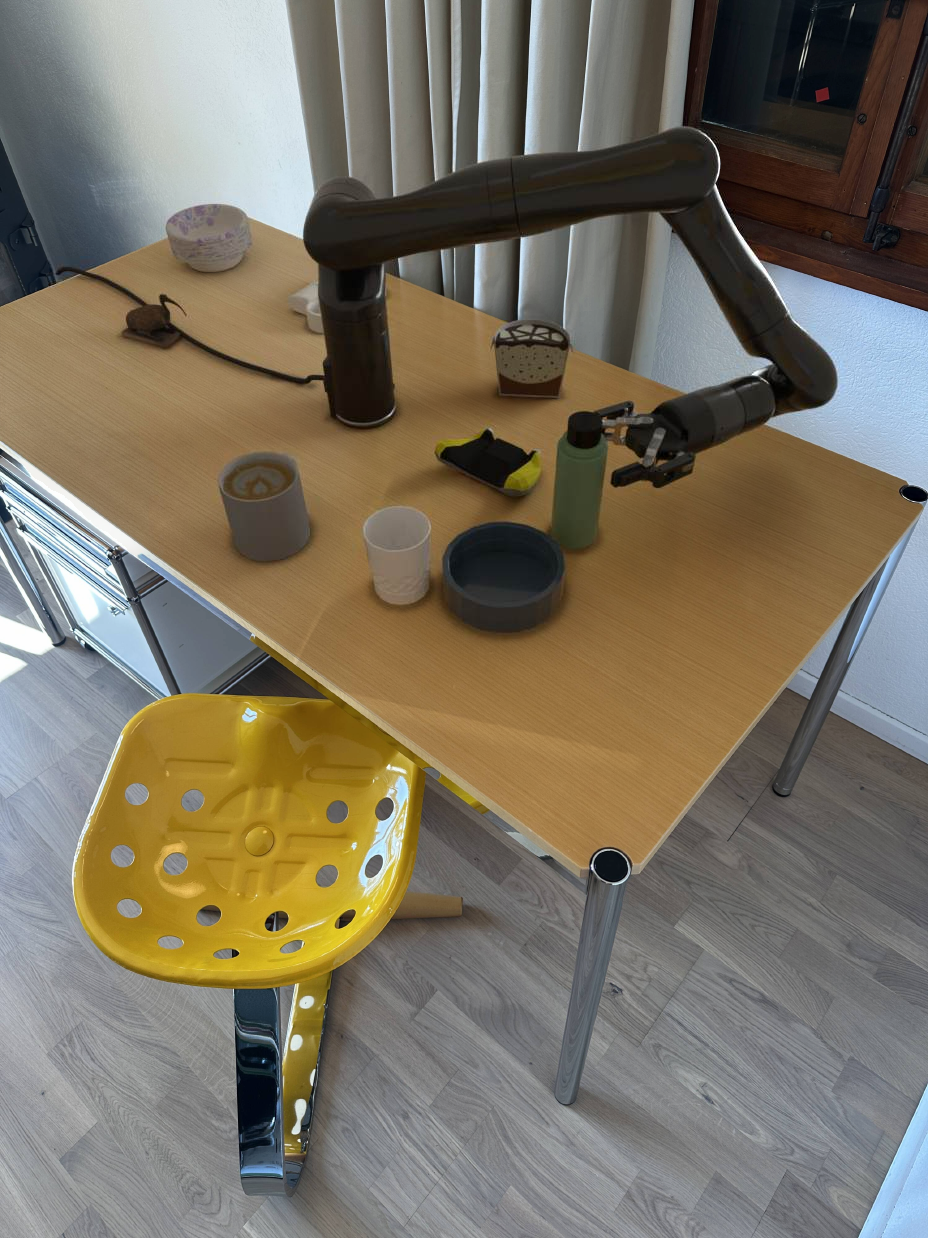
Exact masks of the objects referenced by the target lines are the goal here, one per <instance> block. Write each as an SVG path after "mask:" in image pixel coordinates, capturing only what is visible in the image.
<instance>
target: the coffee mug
mask: <svg viewBox="0 0 928 1238" xmlns="http://www.w3.org/2000/svg"><path fill="white" fill-rule="evenodd" d="M217 486H218V490H219V493H220V496H221V501H222V504H223V507H224V510H225V514H226V517H227V521H228V524H229V527H230V531H231V535H232V538H233V542H234V545H235V548H236V549H237V551H238V552H239V553H240V555H243V556H244V557H246V558H247V559H250V560H253V561H258V562H276V561H281V560H284V559H287V558H289V557H292V556H294V555H296V554H297V553H298V552H300V551H301V550H302V549H303V548H305V546H306V545H307V543H308V541H309V540H310V538H311V526H310V521H309V517H308V512H307V511H308V510H307V506H306V500H305V496H304V491H303V485H302V481H301V475H300V471H299V467H298V462H297V460H296V458H295V456H294V455H292V454H290V453H286V452H284V453H281V452H276V451H265V450H264V451H253V452H249V453H246V454H242V455H241V456H238V457H236V458H234V459H232V460H230V461H229V462H228V463H226V464H225V465H224V466H223V467H222V469H221V471H220V472H219V475H218V478H217Z"/></svg>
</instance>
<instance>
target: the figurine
mask: <svg viewBox="0 0 928 1238" xmlns="http://www.w3.org/2000/svg"><path fill="white" fill-rule="evenodd" d="M158 301H159V303H160V304H155V303H153V304H148V305H146V306H142V305H141V306H139V307H135V308H134V309H130V311H128V312H127V313H126V315H125V322H126V326H127V328H125V329H123V330H122V331H121V336H122V337H125V338H129V339H133V340H135V341H138V342H142V343H147V344H150V345H154V346H157V347H160V348H164V349H169V348H170V347H172V346H173V345H174V344H176V343H177V342H178V341H179V340H181V339H182V338H183V337H182V336H181V335H180V333H179V332H177V331H176V329H173V328H169V327H168V326H167V325H168V324H169V322H171V311H170V309H169V308H168V306H167V305H166V303H168V304H172V305H174V306H176V307H177V308H179V309H180V311H182V313H183V315H184V316H185V317H187V313H186V312H185V310H184V309H183V307H182V306H181V305H180V304H179V303H177V302H176V301H175V300H174V299H172V298H170V297H168V296H167V294H164V293H161V294H159V295H158Z"/></svg>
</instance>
